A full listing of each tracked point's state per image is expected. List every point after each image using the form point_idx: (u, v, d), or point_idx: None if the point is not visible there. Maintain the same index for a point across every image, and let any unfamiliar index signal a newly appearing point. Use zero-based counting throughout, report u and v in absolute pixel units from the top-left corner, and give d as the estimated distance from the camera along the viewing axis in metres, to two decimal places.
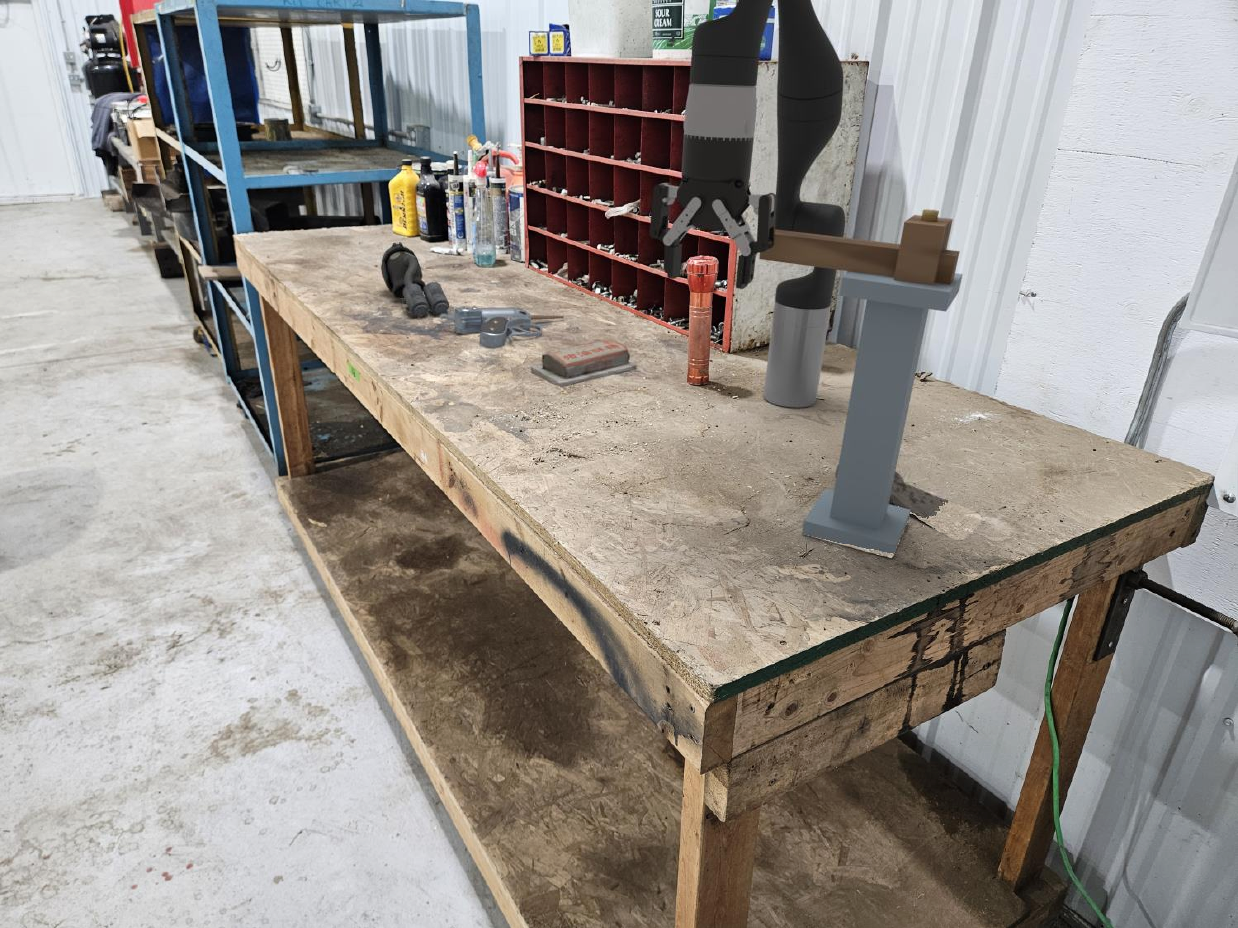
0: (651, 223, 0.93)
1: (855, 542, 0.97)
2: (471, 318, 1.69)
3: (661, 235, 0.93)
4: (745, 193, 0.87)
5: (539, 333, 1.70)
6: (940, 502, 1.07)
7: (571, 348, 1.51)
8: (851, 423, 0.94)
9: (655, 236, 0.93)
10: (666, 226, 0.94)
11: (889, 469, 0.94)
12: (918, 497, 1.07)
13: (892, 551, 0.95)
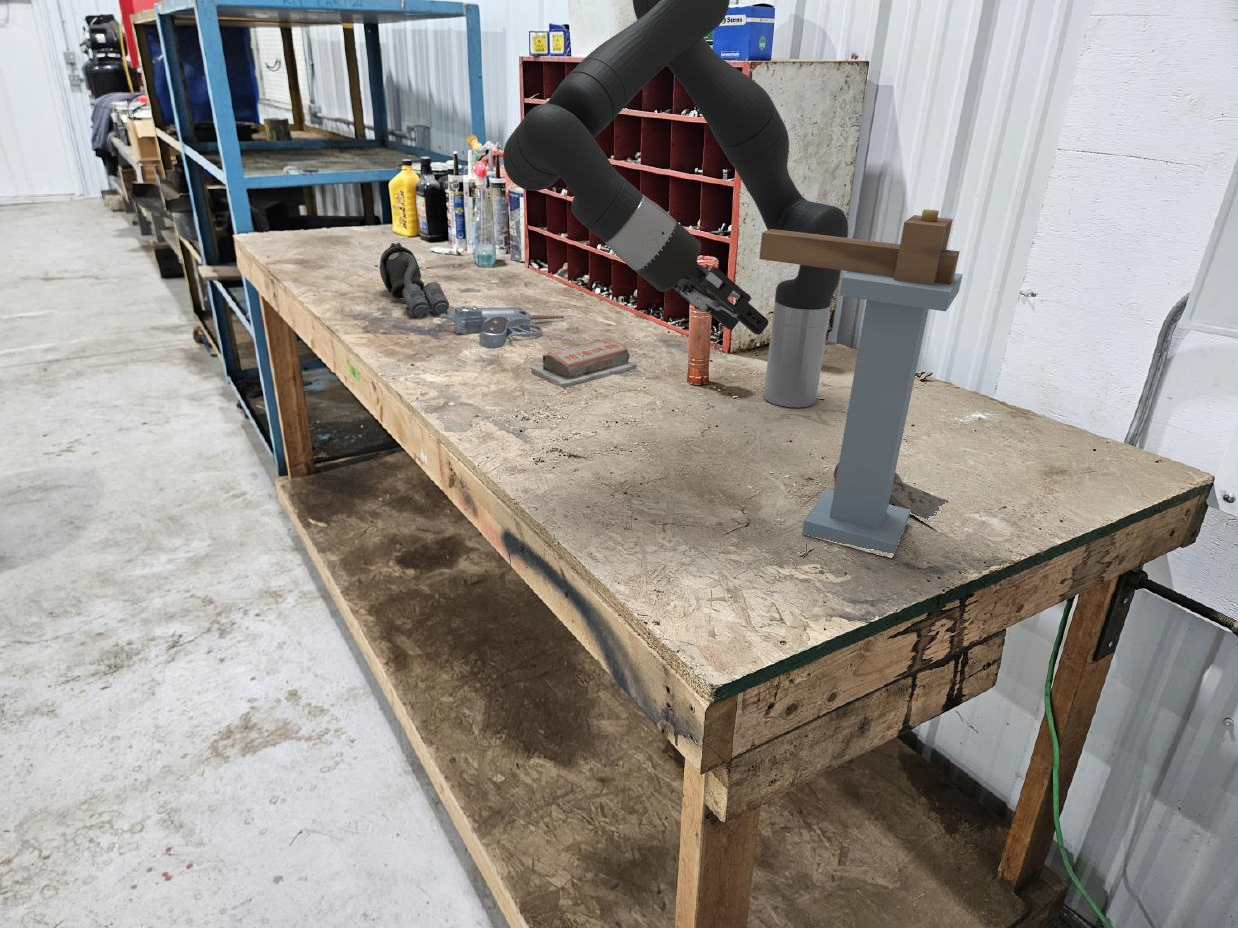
0: (688, 301, 1.06)
1: (855, 542, 0.97)
2: (471, 318, 1.69)
3: None
4: (696, 280, 0.94)
5: (539, 333, 1.70)
6: (939, 502, 1.07)
7: (571, 348, 1.50)
8: (851, 423, 0.94)
9: (698, 308, 1.06)
10: None
11: (889, 469, 0.94)
12: (917, 497, 1.07)
13: (892, 551, 0.95)
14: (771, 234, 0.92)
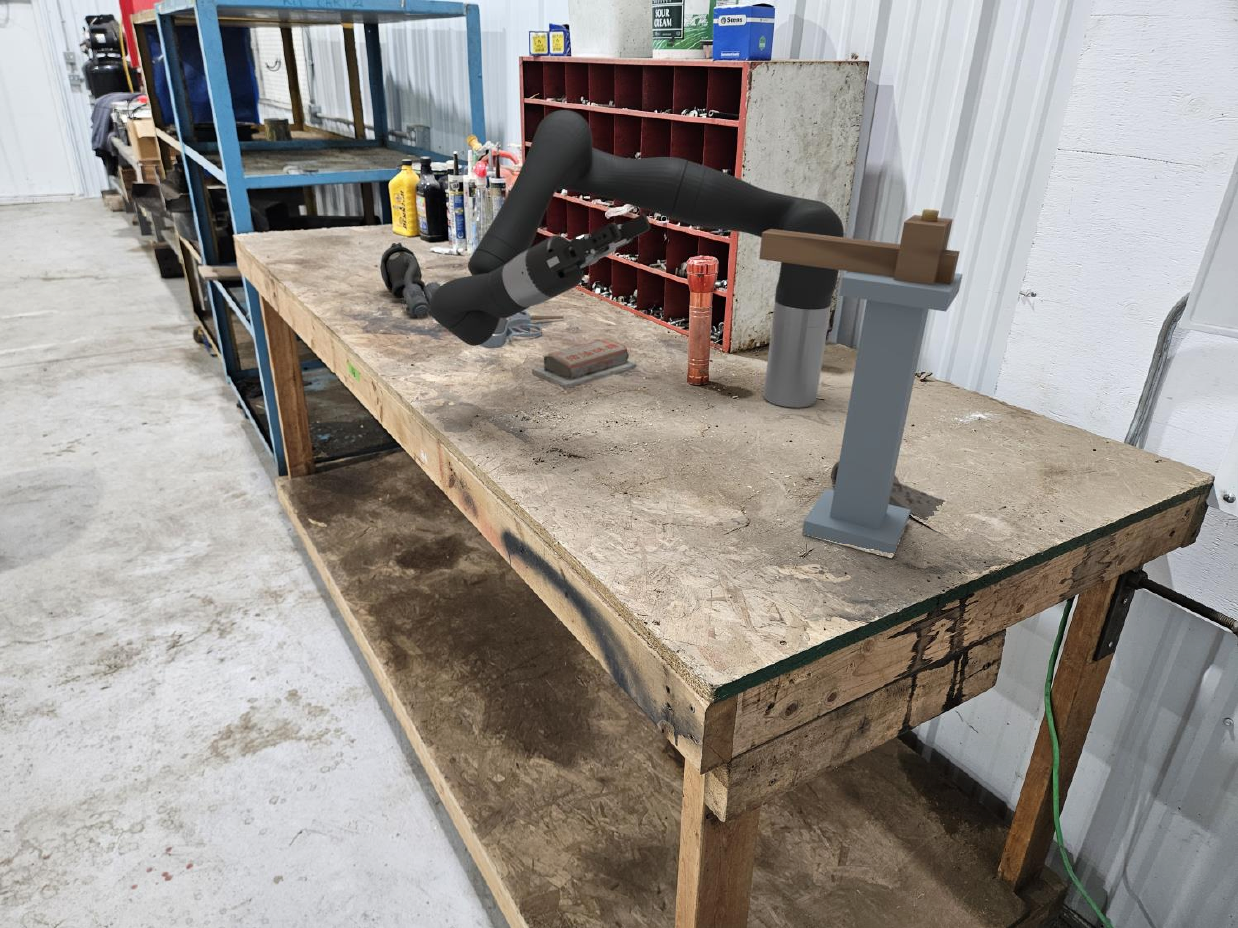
0: (624, 244, 1.14)
1: (855, 542, 0.97)
2: None
3: None
4: None
5: (539, 333, 1.70)
6: (936, 502, 1.07)
7: (572, 349, 1.50)
8: (851, 423, 0.94)
9: (630, 241, 1.13)
10: None
11: (889, 469, 0.94)
12: (914, 497, 1.07)
13: (892, 551, 0.95)
14: (771, 234, 0.92)
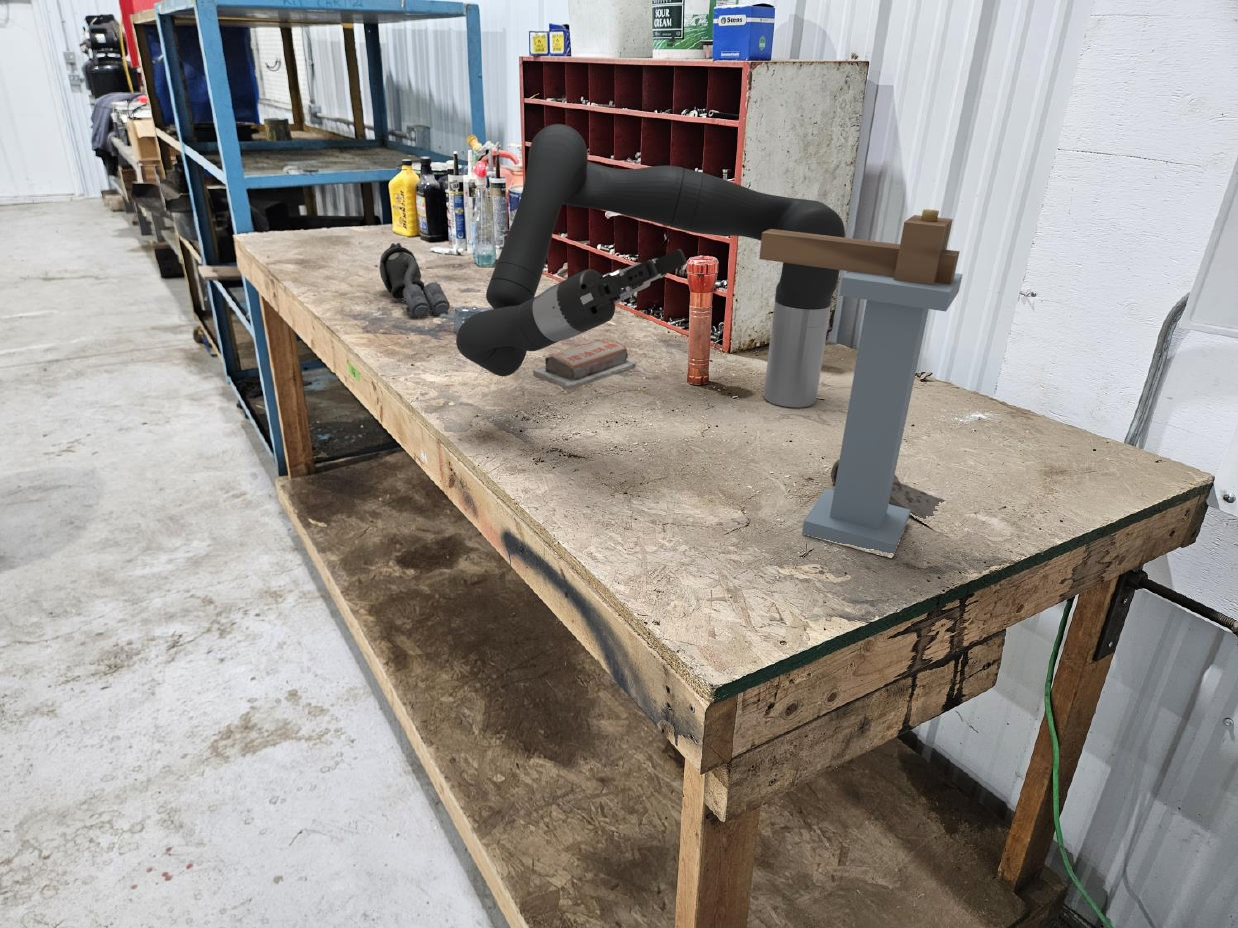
0: None
1: (855, 542, 0.97)
2: None
3: None
4: None
5: None
6: (936, 502, 1.07)
7: (572, 349, 1.50)
8: (851, 423, 0.94)
9: (664, 275, 1.10)
10: None
11: (889, 469, 0.94)
12: (914, 496, 1.07)
13: (892, 551, 0.95)
14: (771, 234, 0.92)
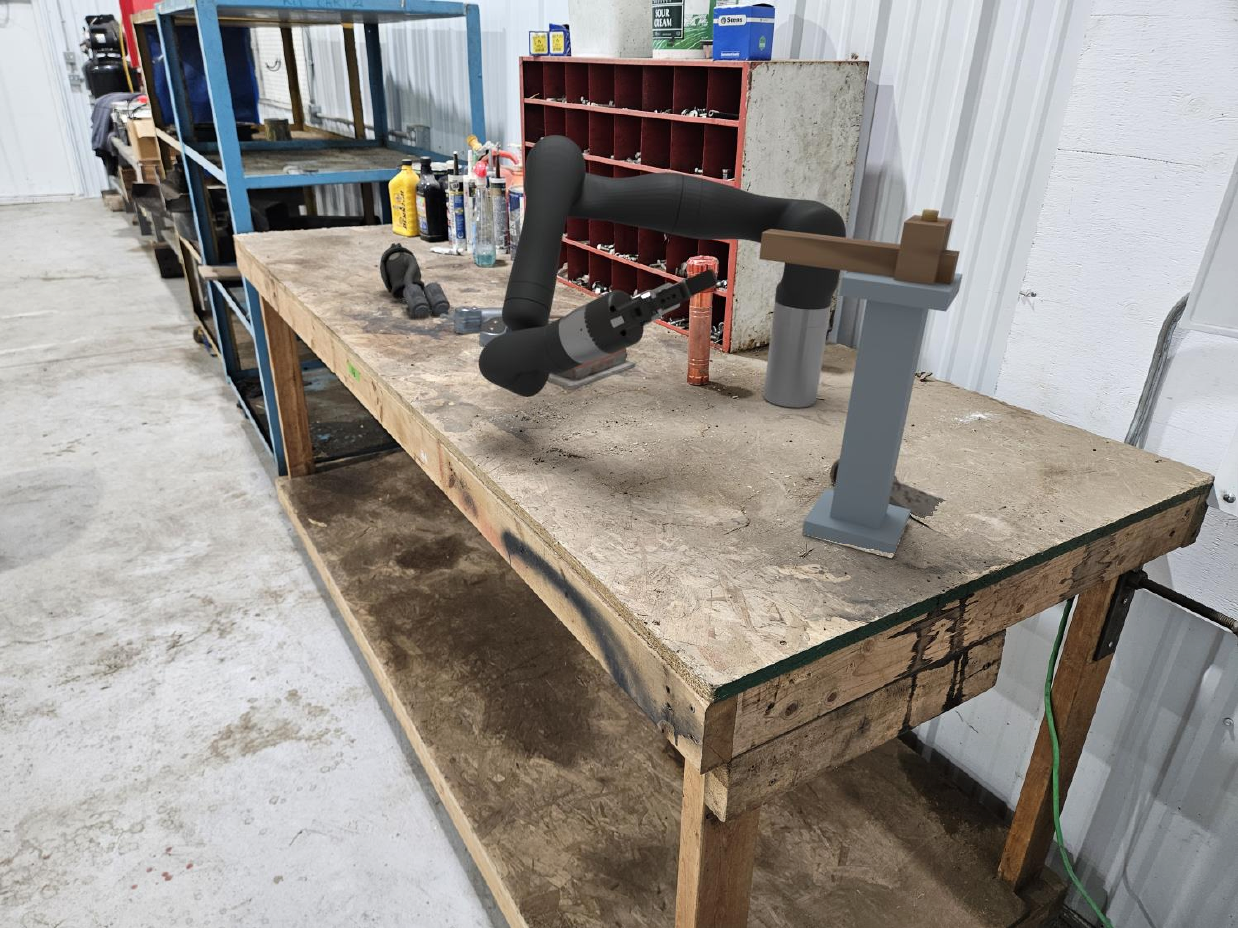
0: None
1: (855, 542, 0.97)
2: (471, 318, 1.69)
3: None
4: None
5: None
6: (935, 501, 1.07)
7: None
8: (851, 423, 0.94)
9: None
10: None
11: (889, 469, 0.94)
12: (913, 496, 1.07)
13: (892, 551, 0.95)
14: (771, 234, 0.92)
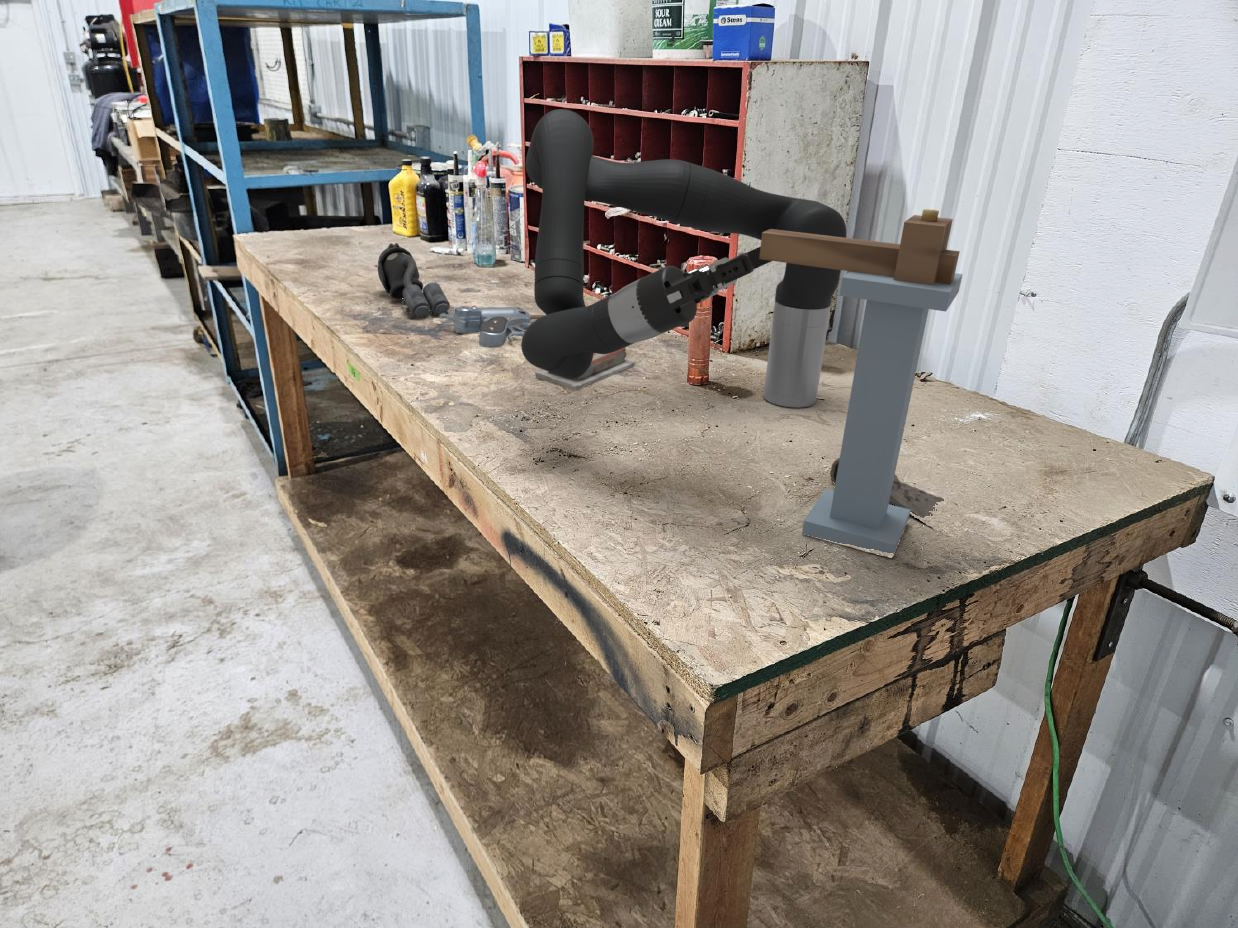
0: None
1: (855, 542, 0.97)
2: (471, 318, 1.69)
3: None
4: None
5: None
6: (935, 500, 1.08)
7: None
8: (851, 423, 0.94)
9: None
10: None
11: (889, 469, 0.94)
12: (913, 495, 1.08)
13: (892, 551, 0.95)
14: (771, 234, 0.92)
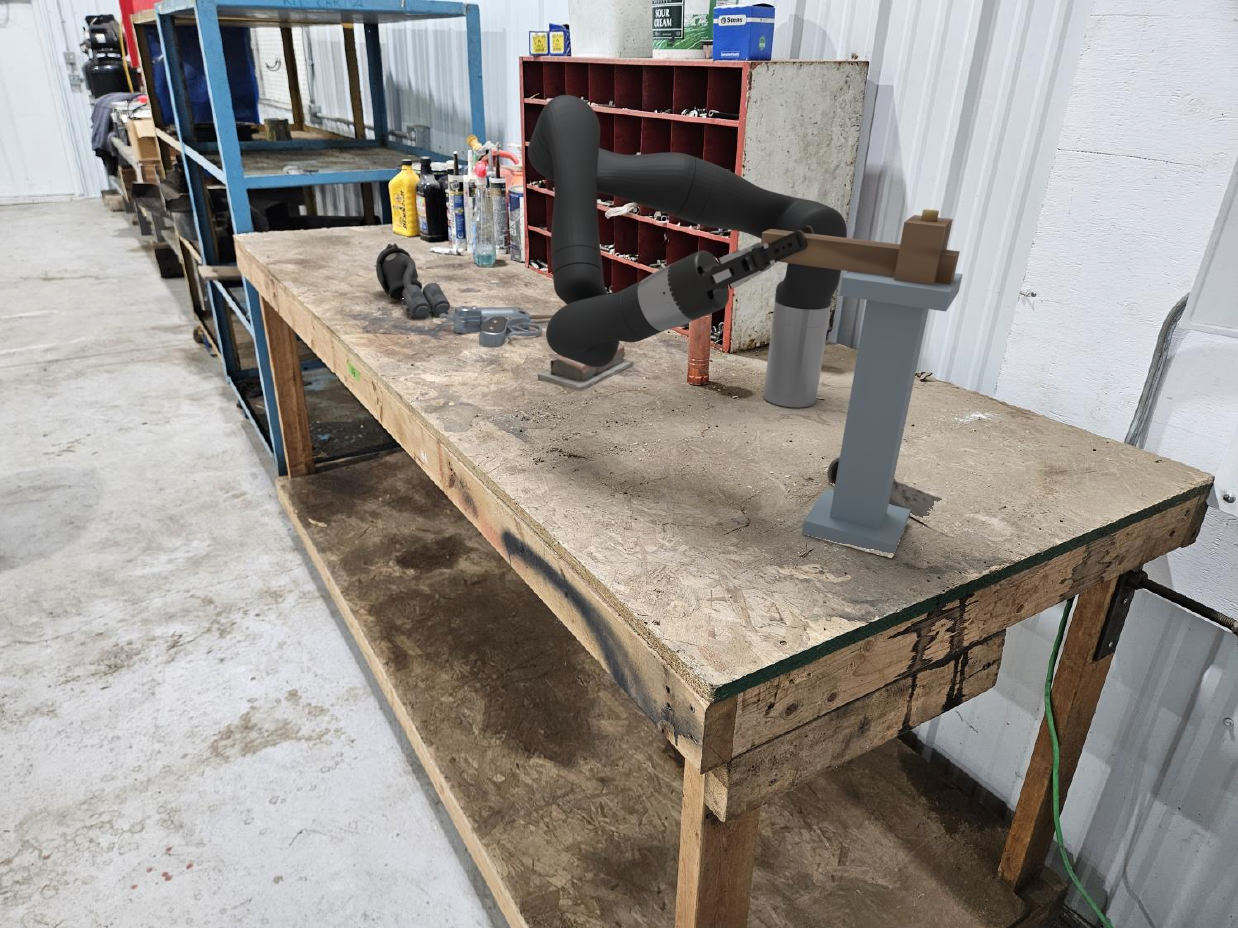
0: None
1: (855, 542, 0.97)
2: (471, 318, 1.69)
3: None
4: (715, 285, 0.94)
5: (538, 332, 1.70)
6: (932, 500, 1.08)
7: None
8: (851, 423, 0.94)
9: None
10: None
11: (889, 469, 0.94)
12: (910, 495, 1.08)
13: (892, 551, 0.95)
14: (771, 234, 0.92)
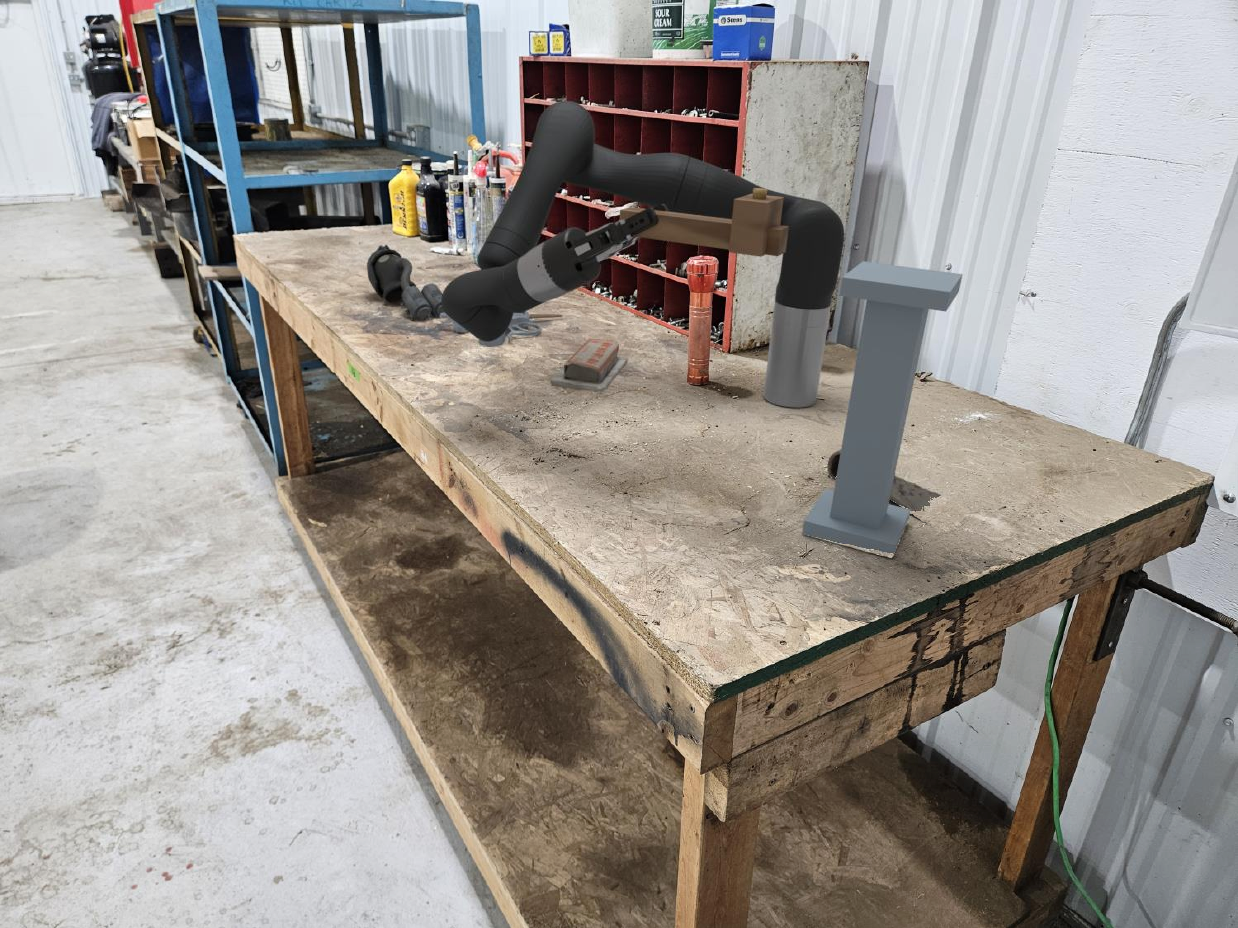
0: None
1: (855, 542, 0.97)
2: None
3: None
4: None
5: (538, 332, 1.71)
6: (929, 495, 1.09)
7: (580, 353, 1.48)
8: (851, 423, 0.94)
9: None
10: None
11: (889, 469, 0.94)
12: (907, 489, 1.09)
13: (892, 551, 0.95)
14: (627, 211, 1.01)
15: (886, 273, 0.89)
